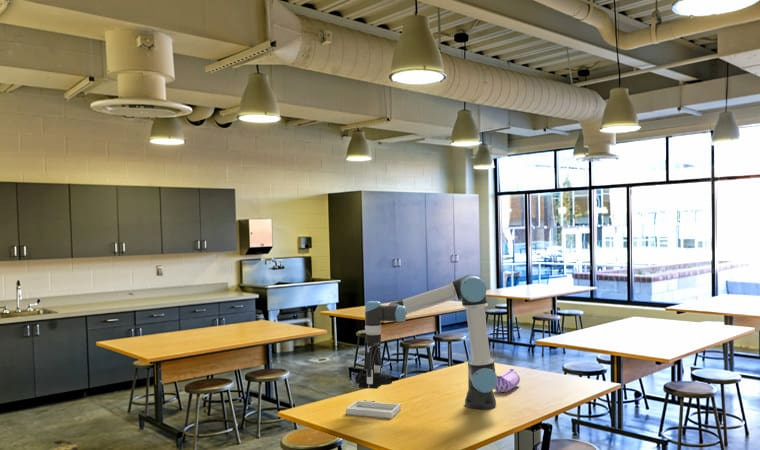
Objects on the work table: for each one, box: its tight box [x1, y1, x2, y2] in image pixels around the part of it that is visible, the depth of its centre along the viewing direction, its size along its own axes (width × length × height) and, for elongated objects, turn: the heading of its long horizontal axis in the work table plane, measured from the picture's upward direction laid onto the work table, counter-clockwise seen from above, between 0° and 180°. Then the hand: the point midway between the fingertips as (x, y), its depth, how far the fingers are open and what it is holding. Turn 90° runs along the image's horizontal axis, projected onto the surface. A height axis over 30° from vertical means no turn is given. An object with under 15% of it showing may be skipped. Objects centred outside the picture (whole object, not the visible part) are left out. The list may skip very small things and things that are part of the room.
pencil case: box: [493, 368, 521, 393], centre depth 326 cm, size 22×9×10 cm, turn 151°
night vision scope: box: [355, 370, 393, 390], centre depth 283 cm, size 8×18×10 cm
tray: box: [345, 400, 402, 420], centre depth 284 cm, size 22×14×3 cm, turn 71°
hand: (373, 381), depth 284 cm, fingers closed on night vision scope, 9 cm apart
